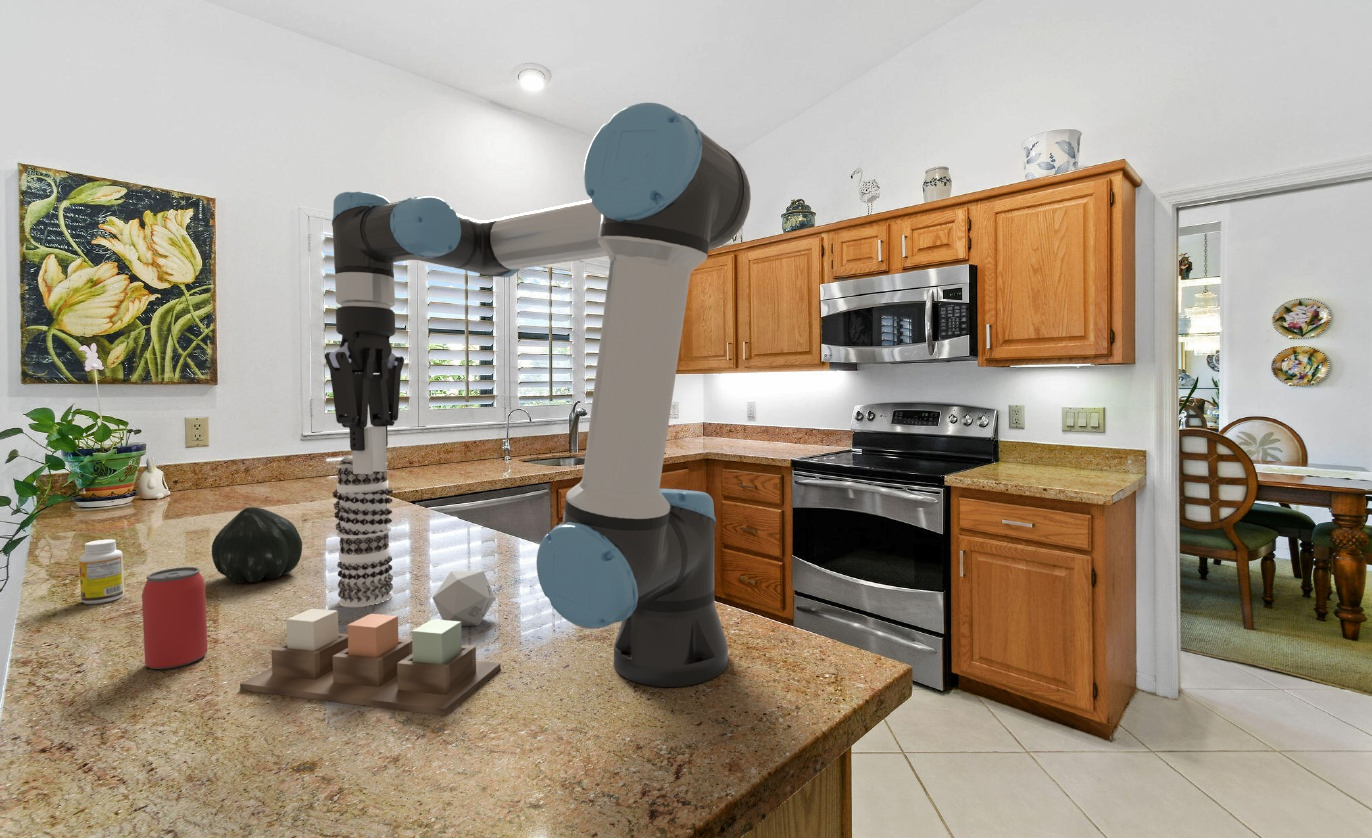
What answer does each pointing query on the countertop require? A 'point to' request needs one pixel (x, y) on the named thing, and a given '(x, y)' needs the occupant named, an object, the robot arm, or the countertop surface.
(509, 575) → the countertop surface
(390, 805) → the countertop surface
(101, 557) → the supplement bottle
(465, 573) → the die
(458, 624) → the sage button
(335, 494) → the decorative candle
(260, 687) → the button board
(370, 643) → the terracotta button
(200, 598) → the beer can
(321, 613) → the ivory button
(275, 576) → the squash
